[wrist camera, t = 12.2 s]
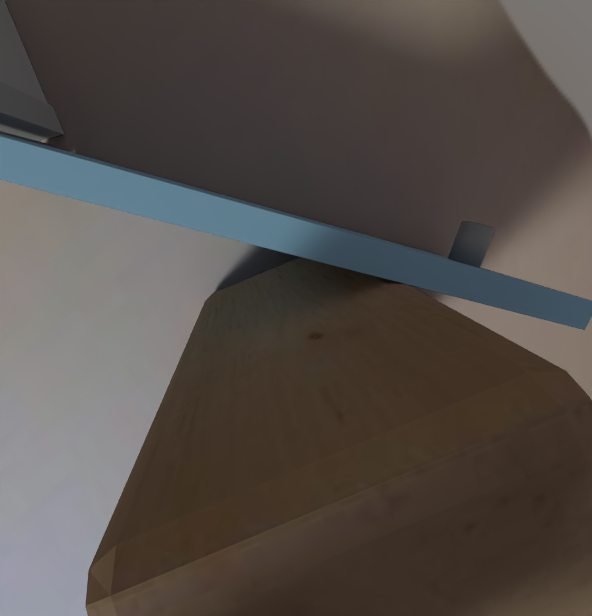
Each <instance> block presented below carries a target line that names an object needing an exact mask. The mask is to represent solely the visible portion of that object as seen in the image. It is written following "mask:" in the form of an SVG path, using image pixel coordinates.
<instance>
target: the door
mask: <svg viewBox="0 0 592 616" xmlns="http://www.w3.org/2000/svg"><path fill="white" fill-rule="evenodd" d="M0 180H4V181H7V182H11V183H15V184H19V185H23V186H27V187H31V188H35V189H39V190H42V191H46V192H50V193H54V194H58V195H62V196H66V197H70V198H74V199H77V200H81V201H85V202H89V203H93V204H97V205H101V206H105V207H108V208H112V209H116V210H120V211H124V212H128V213H132V214H136V215H140V216H143V217H147V218H151V219H155V220H159V221H163V222H167V223H171V224H175V225H178V226H182V227H186V228H190V229H194V230H198V231H202V232H206V233H210V234H213V235H217V236H221V237H225V238H229V239H233V240H237V241H241V242H245V243H248V244H252V245H256V246H260V247H264V248H268V249H272V250H276V251H279V252H283V253H287V254H291V255H295V256H299V257H303V258H307V259H311V260H314V261H318V262H322V263H326V264H330V265H334V266H338V267H342V268H346V269H349V270H353V271H357V272H361V273H365V274H369V275H373V276H377V277H381V278H384V279H388V280H392V281H396V282H400V283H404V284H408V285H412V286H415V287H419V288H423V289H427V290H431V291H435V292H439V293H443V294H447V295H450V296H454V297H458V298H462V299H466V300H470V301H474V302H478V303H482V304H485V305H489V306H493V307H497V308H501V309H505V310H509V311H513V312H517V313H520V314H524V315H528V316H532V317H536V318H540V319H544V320H548V321H552V322H555V323H559V324H563V325H567V326H571V327H575V328H579V329H583V330H585V328H586V326H587V324H588V322H589V320H590V318H591V316H592V301H591V300H588V299H584V298H581V297H578V296H574V295H571V294H568V293H564V292H561V291H558V290H554V289H551V288H548V287H544V286H541V285H538V284H534V283H531V282H528V281H524V280H521V279H517V278H514V277H511V276H507V275H504V274H501V273H497V272H494V271H491V270H487V269H484V268H481V267H480V266H481V263H482V261H483V259H484V256H485V254H486V251H487V249H488V246H489V244H490V241H491V239H492V236H493V234H494V232H495V229H494V228H492V227H489V226H486V225H482V224H478V223H473V222H468V221H462V223H461V225H460V228H459V231H458V233H457V236H456V238H455V241H454V244H453V246H452V249H451V251H450V254H449V257H448V258H447V257H444V256H440V255H436V254H433V253H429V252H426V251H422V250H419V249H415V248H411V247H408V246H404V245H401V244H397V243H394V242H390V241H386V240H383V239H379V238H376V237H372V236H369V235H365V234H361V233H358V232H354V231H351V230H347V229H344V228H340V227H336V226H333V225H329V224H326V223H322V222H319V221H315V220H311V219H308V218H304V217H301V216H297V215H294V214H290V213H286V212H283V211H279V210H276V209H272V208H269V207H265V206H261V205H258V204H254V203H251V202H247V201H244V200H240V199H236V198H233V197H229V196H226V195H222V194H219V193H215V192H211V191H208V190H204V189H201V188H197V187H194V186H190V185H186V184H183V183H179V182H176V181H172V180H169V179H165V178H161V177H158V176H154V175H151V174H147V173H144V172H140V171H136V170H133V169H129V168H126V167H122V166H119V165H115V164H111V163H108V162H104V161H101V160H97V159H94V158H90V157H86V156H83V155H79V154H76V153H72V152H69V151H65V150H61V149H57V148H55V147H53V146H52V145H50V144H47V143H43V142H39V141H36V140H32V139H28V138H24V137H21V136H17V135H13V134H10V133H6V132H2V131H0Z"/></svg>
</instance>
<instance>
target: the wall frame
mask: <svg viewBox="0 0 592 616" xmlns="http://www.w3.org/2000/svg"><path fill="white" fill-rule="evenodd" d="M0 131H2V132H6V133H10V134H13V135H17V136H21V137H24V138H28V139H32V140H36V141H40V140H44V139H48V138H52V137H56V136H60V135H64V132H63V130H62V128H61V125H60V123H59V120H58V118H57V115H56V113H55V111H54V108H53V106H52V105H49V104H48V103H47V101H46V98H45V96H44V94H43V91H42V89H41V86H40V84H39V82H38V79H37V77H36V74H35V72H34V70H33V67H32V65H31V62H30V60H29V58H28V55H27V53H26V51H25V48H24V46H23V43H22V41H21V39H20V36H19V34H18V31H17V29H16V27H15V24H14V22H13V19H12V17H11V15H10V12H9V10H8V8H7V5H6V3H5V0H0Z"/></svg>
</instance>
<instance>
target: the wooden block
mask: <svg viewBox="0 0 592 616" xmlns="http://www.w3.org/2000/svg"><path fill="white" fill-rule="evenodd" d="M86 610H87V614H88V616H592V400H591V399H590V397H589V396H588V395H587V394H586V392H585V391H584V390H583V389H582V388H581V387H580V386H579V385H578V384H577V383H576V381H575V380H574V379H573V378H572V377H571V376H570V375H569V374H568V373H567V371H565V370H563V369H561V368H560V367H558V366H556V365H554V364H552V363H550V362H549V361H547V360H545V359H543V358H541V357H539V356H538V355H536V354H534V353H532V352H530V351H528V350H527V349H525V348H523V347H521V346H519V345H517V344H516V343H514V342H512V341H510V340H508V339H506V338H505V337H503V336H501V335H499V334H497V333H495V332H494V331H492V330H490V329H488V328H486V327H484V326H483V325H481V324H479V323H477V322H475V321H473V320H472V319H470V318H468V317H466V316H464V315H462V314H461V313H459V312H457V311H455V310H453V309H451V308H450V307H448V306H446V305H444V304H442V303H440V302H439V301H437V300H435V299H433V298H431V297H429V296H428V295H426V294H424V293H422V292H420V291H418V290H417V289H415V288H413V287H411V286H409V285H407V284H404V283H400V282H396V281H392V280H388V279H384V278H381V277H377V276H373V275H369V274H365V273H361V272H357V271H353V270H349V269H346V268H342V267H338V266H334V265H330V264H326V263H322V262H318V261H314V260H311V259H307V258H303V257H298V258H296V259H294V260H291V261H289V262H286V263H284V264H282V265H279V266H277V267H274V268H272V269H269V270H267V271H265V272H262V273H260V274H257V275H255V276H253V277H250V278H248V279H245V280H243V281H241V282H238V283H236V284H233V285H231V286H229V287H226V288H224V289H221V290H219V291H217V292H214V293H213V294H212V295H211V296H210V297H209V298H208V299H207V300H206V301H205V303H204V305H203V308H202V310H201V312H200V314H199V317H198V319H197V321H196V324H195V326H194V328H193V331H192V333H191V335H190V338H189V340H188V342H187V344H186V347H185V349H184V351H183V354H182V356H181V358H180V361H179V363H178V365H177V368H176V370H175V372H174V374H173V377H172V379H171V381H170V384H169V386H168V388H167V391H166V393H165V395H164V398H163V400H162V402H161V404H160V407H159V409H158V411H157V414H156V416H155V418H154V421H153V423H152V425H151V428H150V430H149V432H148V435H147V437H146V439H145V441H144V444H143V446H142V448H141V451H140V453H139V455H138V458H137V460H136V462H135V465H134V467H133V469H132V471H131V474H130V476H129V478H128V481H127V483H126V485H125V488H124V490H123V492H122V495H121V497H120V499H119V501H118V504H117V506H116V508H115V511H114V513H113V515H112V518H111V520H110V522H109V525H108V527H107V529H106V531H105V534H104V536H103V538H102V541H101V543H100V545H99V548H98V550H97V552H96V555H95V557H94V559H93V561H92V564H91V566H90V568H89V573H88V584H87V595H86Z"/></svg>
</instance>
